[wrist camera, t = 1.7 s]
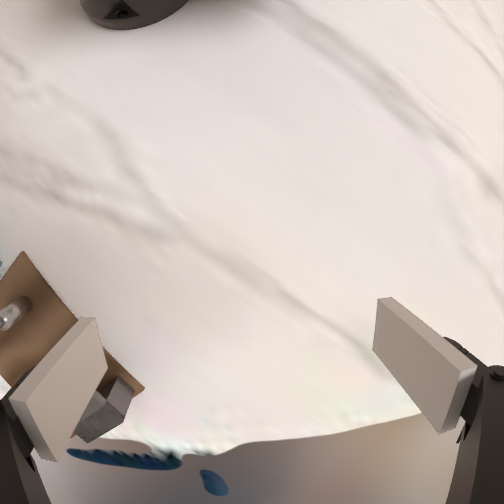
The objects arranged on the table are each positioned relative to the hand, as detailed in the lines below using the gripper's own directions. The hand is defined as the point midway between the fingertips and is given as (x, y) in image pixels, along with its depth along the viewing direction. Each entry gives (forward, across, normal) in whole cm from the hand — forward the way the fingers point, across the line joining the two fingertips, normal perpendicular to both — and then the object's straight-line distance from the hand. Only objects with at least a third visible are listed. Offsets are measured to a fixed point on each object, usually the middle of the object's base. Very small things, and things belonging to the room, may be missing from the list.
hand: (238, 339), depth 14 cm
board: (+22, -28, -15) cm, 39 cm away
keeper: (+21, -20, -18) cm, 34 cm away
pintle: (+22, -28, -6) cm, 36 cm away
